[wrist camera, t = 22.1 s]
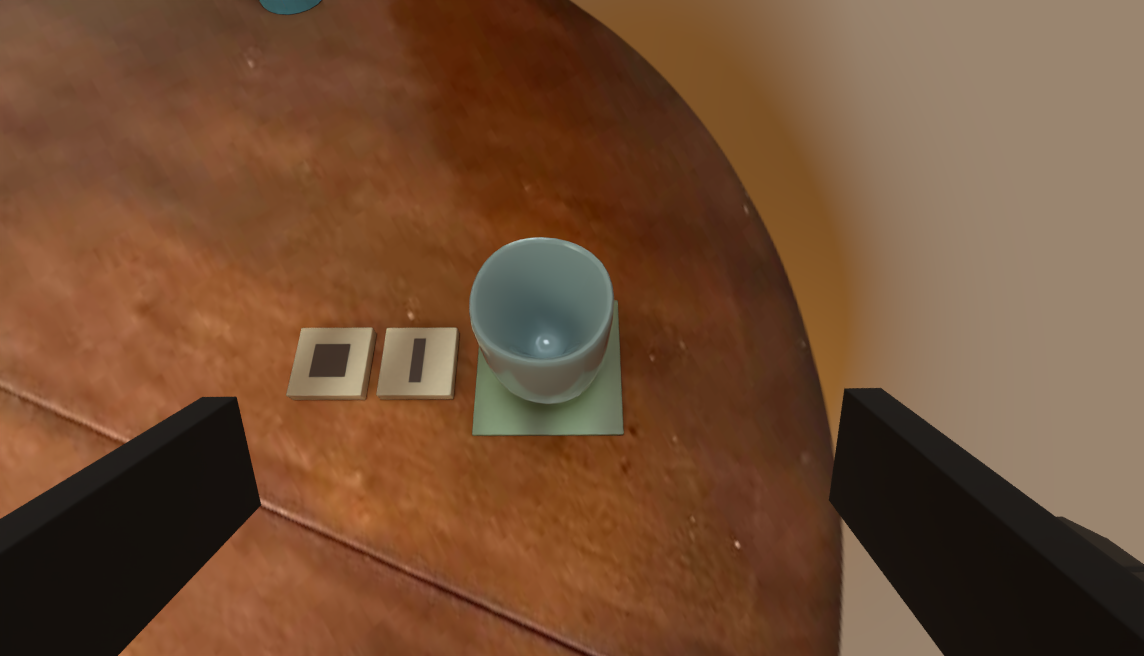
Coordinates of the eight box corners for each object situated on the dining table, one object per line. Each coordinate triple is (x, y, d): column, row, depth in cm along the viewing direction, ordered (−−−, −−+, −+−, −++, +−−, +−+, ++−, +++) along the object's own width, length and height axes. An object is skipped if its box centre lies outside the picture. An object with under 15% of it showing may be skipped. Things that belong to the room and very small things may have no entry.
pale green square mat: (617, 302, 39) (618, 294, 38) (623, 435, 35) (624, 431, 34) (315, 302, 39) (308, 295, 38) (284, 436, 35) (275, 432, 34)
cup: (612, 323, 38) (625, 246, 29) (594, 428, 35) (602, 378, 26) (507, 306, 39) (488, 225, 30) (480, 407, 35) (449, 351, 26)
